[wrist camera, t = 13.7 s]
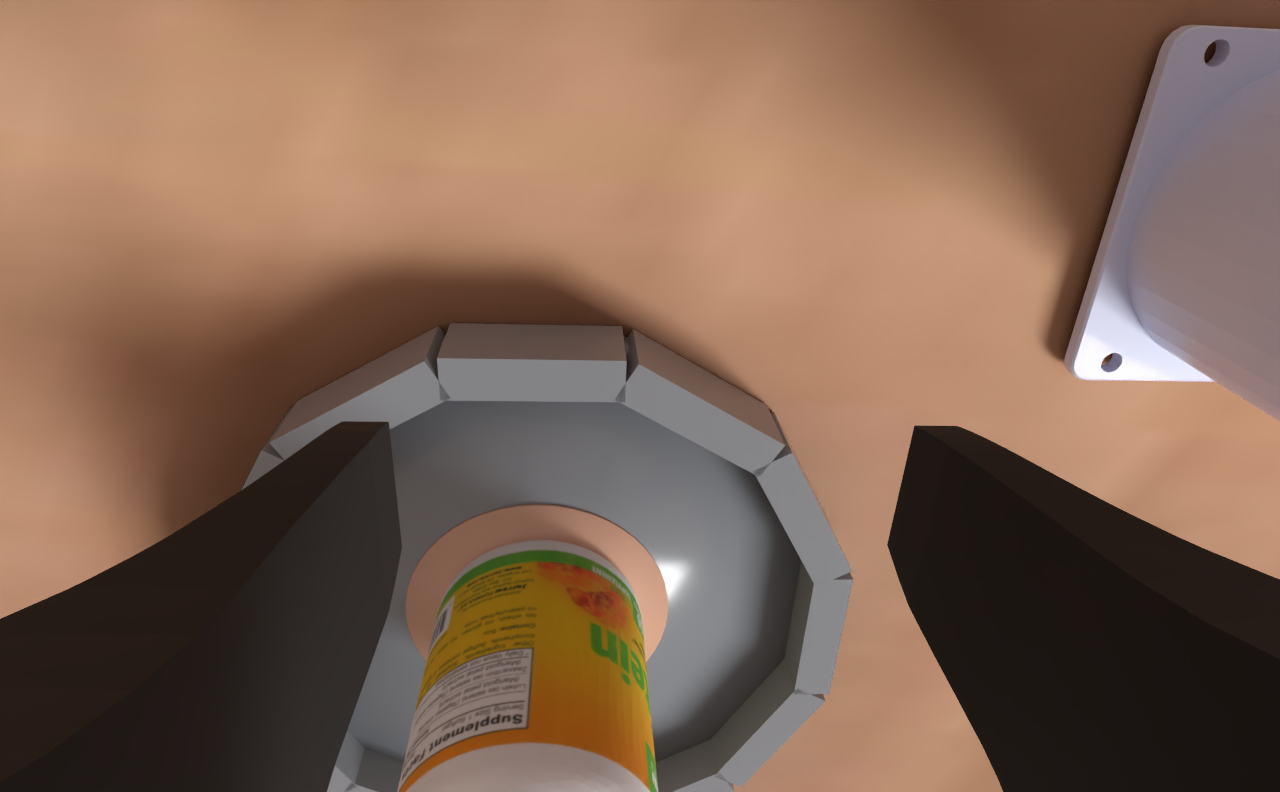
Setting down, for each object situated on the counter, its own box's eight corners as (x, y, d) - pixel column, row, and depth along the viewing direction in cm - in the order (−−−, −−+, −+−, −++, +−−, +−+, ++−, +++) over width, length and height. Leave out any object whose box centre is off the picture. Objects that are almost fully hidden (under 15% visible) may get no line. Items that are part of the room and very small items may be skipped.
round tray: (869, 330, 20) (898, 364, 18) (784, 778, 27) (799, 834, 25) (180, 318, 18) (138, 353, 16) (287, 792, 25) (265, 853, 24)
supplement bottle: (671, 646, 23) (729, 1057, 14) (499, 711, 23) (452, 1140, 15) (589, 502, 20) (597, 889, 12) (400, 579, 21) (274, 999, 12)
